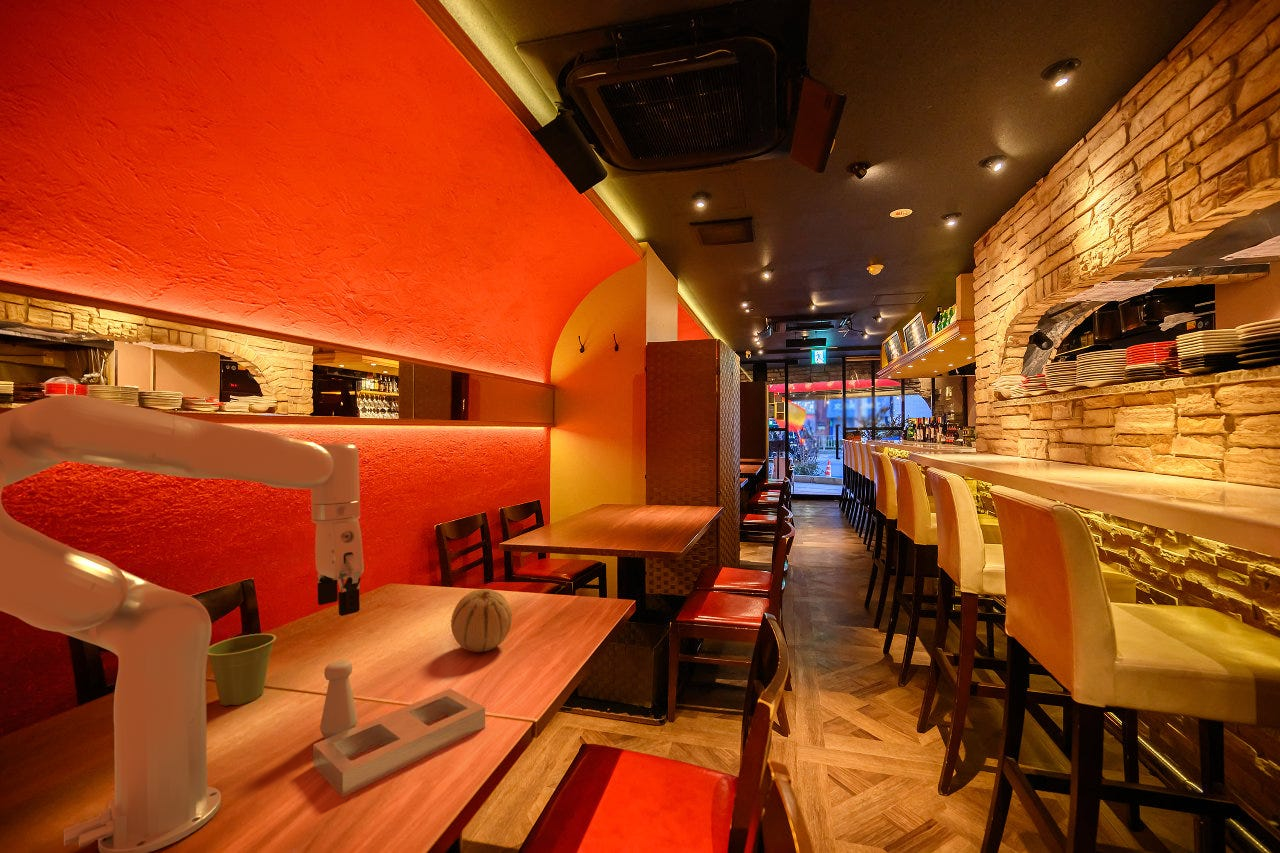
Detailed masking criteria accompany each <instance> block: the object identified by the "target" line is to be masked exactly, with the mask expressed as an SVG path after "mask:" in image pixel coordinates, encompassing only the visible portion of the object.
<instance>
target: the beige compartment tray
mask: <svg viewBox="0 0 1280 853" xmlns="http://www.w3.org/2000/svg"><path fill="white" fill-rule="evenodd" d="M445 714H448V715H447V716H448V717H446V718H443V719H441V720H439V721H437V722H435V723H433V724H430V725H427V724H429V723H431V722H433V721H435V720H437V718H438V719H439V717H440V718H442V717H444V716H446V715H445ZM443 715H444V716H443ZM449 715H450V716H449ZM441 716H442V717H441ZM484 728H486V707H485V706H483V705H481V704H480V703H478V702H475V701H474V700H472V699H470V698H468V697H467V696H464V695H463V694H462V693H459V692H457V691H456V690H454V689H452V688H448V689H446V690H443V691H440V692H438V693H436V694H434V695H430V696H428V697H426V698H423V699H421V700H418V701H415V702H413V703H411V704H408V705H407V706H403V707H401V708H400V709H395V710H394V711H392V712H389V713H386V714H384V715H382V716H379V717H377V718H374V719H372V720H370V721H367V722H365V723H361V724H360V725H356V726H355V727H354V728H352V729H349V730H347V731H345V732H342V733H340V734H337V735H335V736H332V737H330V738H327V739H325V738H324V739H322V740H320V741H318V742H316V743H315V742H314V744H313V747H312V748H313V767H314V768H315V769H316V770H317V772H318V773H319V774H320V775H322V777H323V778H324V779H325V780H326V781H327V782H328V783H329V784H330V785H331V786H332V787H333V789H334V790H335V791H336V792H337V793H338V794H339V795H340V796H341V797H342V798H345V797H348V795H351V794H352V793H354V792H357V791H359V790H361V789H363V788H364V787H367V786H369V785H371V784H373V783H375V782H377V781H379V780H381V779H383V778H385V777H387V776H389V775H391V774H393V773H395V772H397V771H400V770H402V769H404V768H405V767H408V766H410V765H411V764H413V763H416V762H417V761H419V760H422V759H423V758H425V757H427V756H430V755H431V754H434V753H436V752H438V751H440V750H441V749H444V748H446V747H448V746H450V745H452V744H454V743H456V742H459V741H460V740H462V739H464V738H467V737H468V736H471V735H472V734H474V733H476V732H479V731H480V730H482V729H484ZM379 745H381V747H379V748H377V749H375V750H372V751H370V752H369V753H366V754H364V755H361V756H359V757H357V758H355V759H352V760H351V759H350V758H352V757H354V756H356V755H359V754H361V753H363V752H365V751H368V750H370V749H373V748H375V747H377V746H379Z"/></svg>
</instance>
